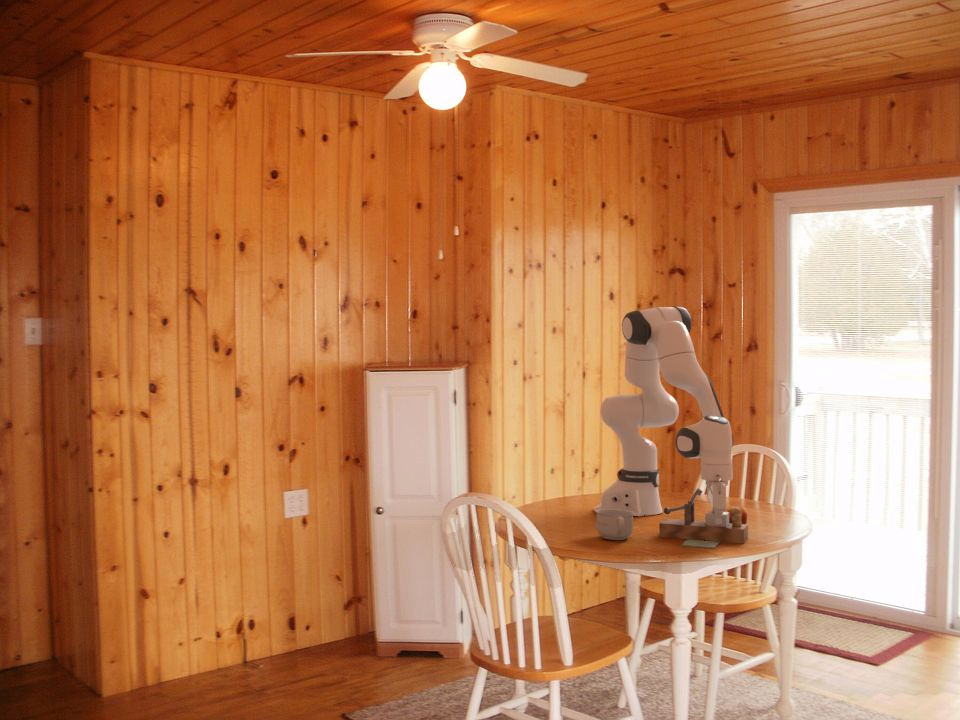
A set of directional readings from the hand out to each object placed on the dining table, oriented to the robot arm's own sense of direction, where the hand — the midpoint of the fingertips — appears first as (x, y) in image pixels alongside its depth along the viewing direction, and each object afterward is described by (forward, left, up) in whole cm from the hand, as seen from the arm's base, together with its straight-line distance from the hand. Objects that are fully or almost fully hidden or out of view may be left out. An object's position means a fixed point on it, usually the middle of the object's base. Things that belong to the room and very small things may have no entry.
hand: (717, 520), depth 273 cm
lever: (-7, 0, +3) cm, 8 cm away
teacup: (-27, -11, -6) cm, 30 cm away
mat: (-3, -9, -5) cm, 11 cm away
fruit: (+2, +15, -6) cm, 16 cm away
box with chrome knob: (0, 0, -1) cm, 1 cm away
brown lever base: (-4, 0, -5) cm, 7 cm away
